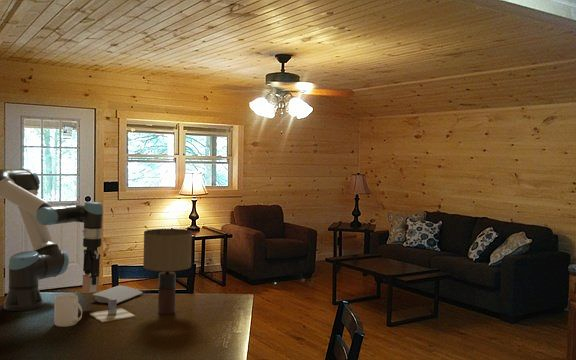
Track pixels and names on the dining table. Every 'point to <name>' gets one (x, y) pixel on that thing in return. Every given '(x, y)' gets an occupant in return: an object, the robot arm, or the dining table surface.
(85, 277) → the pink rectangular block
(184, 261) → the lamp
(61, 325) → the mug
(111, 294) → the book
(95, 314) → the board
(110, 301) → the post
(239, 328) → the dining table surface
